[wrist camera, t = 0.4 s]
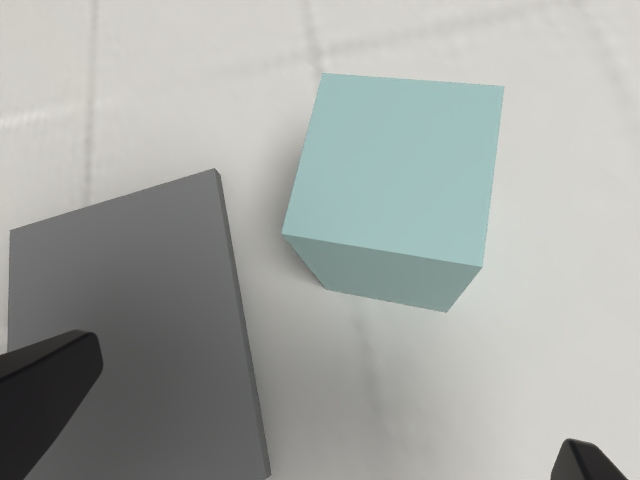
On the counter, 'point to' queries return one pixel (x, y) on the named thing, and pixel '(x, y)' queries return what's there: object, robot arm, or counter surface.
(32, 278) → the mat
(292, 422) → the counter surface
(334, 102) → the pale teal box
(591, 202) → the counter surface
